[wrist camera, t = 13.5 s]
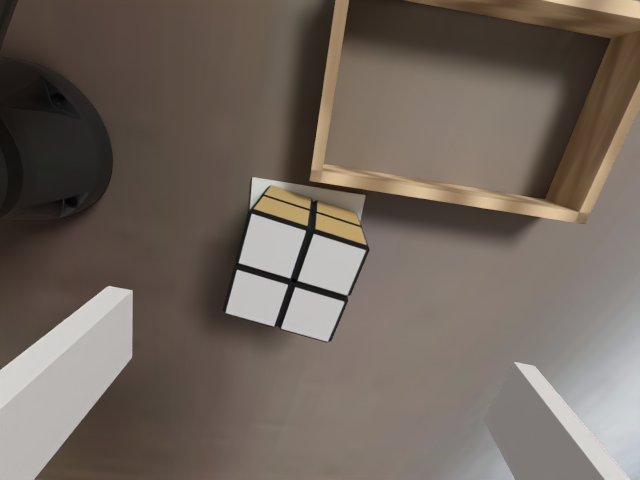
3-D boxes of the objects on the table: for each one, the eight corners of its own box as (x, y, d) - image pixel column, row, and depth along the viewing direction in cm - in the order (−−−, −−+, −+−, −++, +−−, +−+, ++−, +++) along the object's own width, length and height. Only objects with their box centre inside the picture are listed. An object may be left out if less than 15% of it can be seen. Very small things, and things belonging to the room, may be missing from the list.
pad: (245, 277, 38) (244, 279, 38) (253, 177, 34) (252, 177, 34) (344, 292, 39) (345, 293, 38) (365, 194, 35) (365, 195, 34)
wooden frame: (311, 171, 34) (309, 180, 29) (340, -26, 28) (343, -55, 23) (550, 209, 35) (585, 223, 30) (627, 27, 29) (685, 10, 24)
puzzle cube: (328, 289, 38) (330, 345, 29) (246, 265, 37) (220, 315, 28) (358, 212, 35) (371, 247, 25) (269, 183, 34) (247, 208, 24)
